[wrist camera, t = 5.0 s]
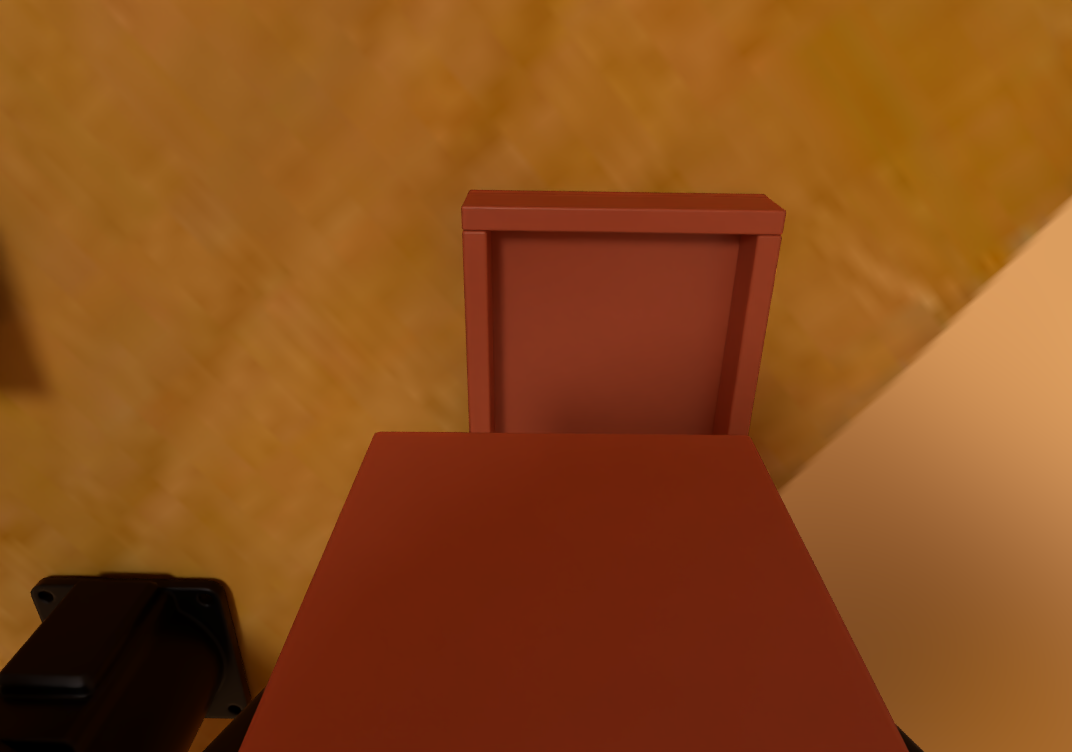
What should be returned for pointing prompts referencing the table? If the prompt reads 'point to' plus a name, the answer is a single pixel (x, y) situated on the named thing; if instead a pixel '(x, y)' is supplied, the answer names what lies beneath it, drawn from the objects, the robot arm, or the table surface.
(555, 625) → the rust block
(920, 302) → the table surface
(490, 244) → the rust tray
